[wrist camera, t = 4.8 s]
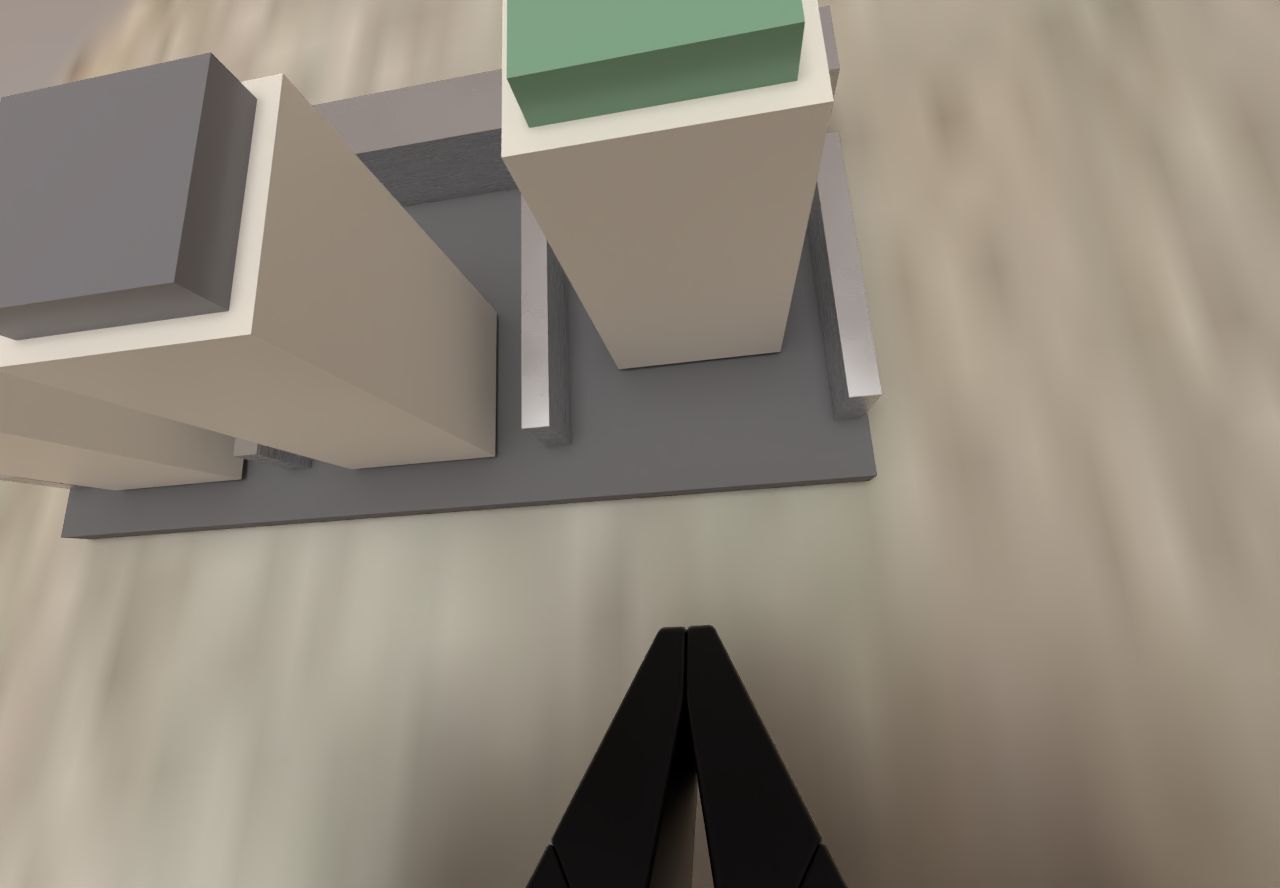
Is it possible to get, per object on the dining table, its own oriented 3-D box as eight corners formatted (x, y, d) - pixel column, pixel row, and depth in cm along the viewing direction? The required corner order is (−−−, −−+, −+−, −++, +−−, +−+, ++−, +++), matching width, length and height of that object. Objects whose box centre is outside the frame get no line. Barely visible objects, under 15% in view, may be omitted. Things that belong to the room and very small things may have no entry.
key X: (495, 456, 16) (197, 307, 7) (350, 469, 16) (-88, 347, 8) (496, 311, 17) (239, 24, 8) (361, 329, 17) (-15, 80, 9)
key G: (780, 351, 15) (846, 42, 6) (618, 369, 16) (475, 110, 7) (763, 208, 16) (799, -227, 7) (612, 230, 17) (481, -146, 8)
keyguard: (868, 417, 14) (893, 387, 12) (70, 490, 18) (-29, 477, 16) (816, 84, 17) (829, 5, 15) (124, 204, 20) (47, 156, 18)
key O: (241, 479, 17) (-288, 375, 8) (115, 490, 17) (-501, 405, 9) (257, 342, 18) (-196, 121, 9) (138, 358, 18) (-392, 163, 10)
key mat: (869, 480, 15) (877, 475, 14) (89, 538, 18) (61, 537, 17) (812, 105, 18) (816, 84, 17) (146, 217, 21) (124, 204, 20)
